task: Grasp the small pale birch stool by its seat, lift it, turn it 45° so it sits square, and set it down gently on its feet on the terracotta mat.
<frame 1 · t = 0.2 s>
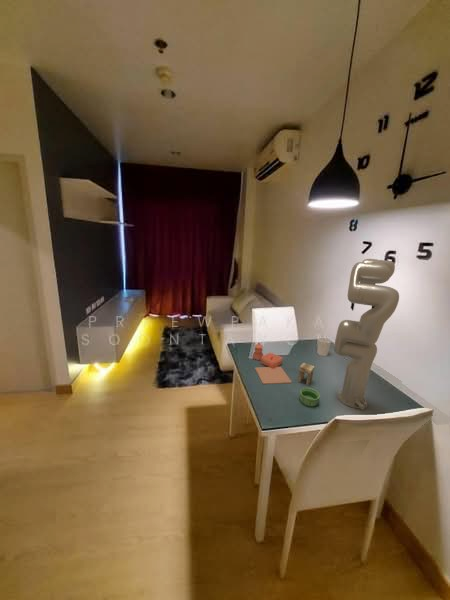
hand: (361, 311, 140), 37 cm above the table, tool pointing down, fingers open, 9 cm apart
stool: (304, 381, 134), on the table
white cup: (322, 354, 169), on the table
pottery: (265, 361, 154), on the table, touching mat
ramekin: (308, 401, 118), on the table
mat: (272, 375, 139), on the table
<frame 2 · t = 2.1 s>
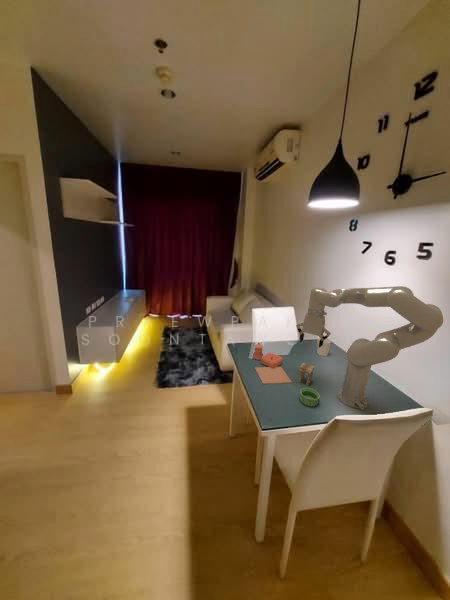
hand: (310, 343, 129), 22 cm above the table, tool pointing down, fingers open, 9 cm apart
nothing on the table moved.
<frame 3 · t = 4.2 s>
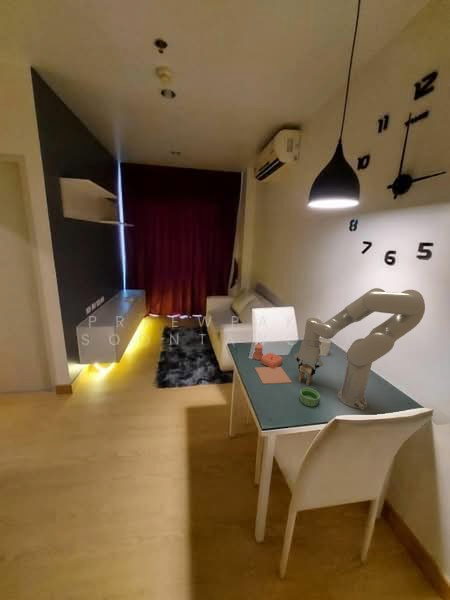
hand: (306, 372, 133), 6 cm above the table, tool pointing down, fingers closed on stool, 6 cm apart
stool: (304, 381, 134), on the table, touching gripper
everything else where it was.
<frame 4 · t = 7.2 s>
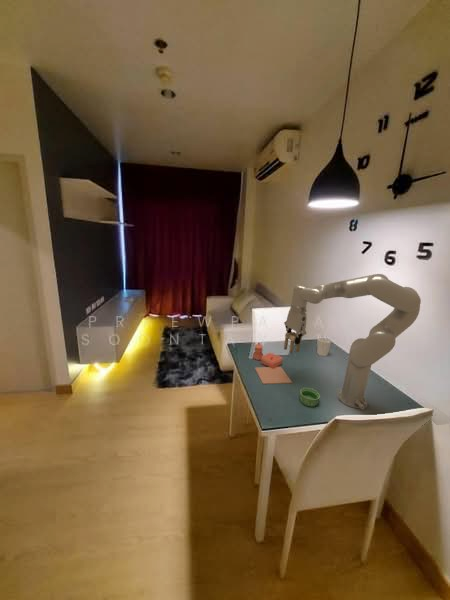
hand: (292, 340, 131), 22 cm above the table, tool pointing down, fingers closed on stool, 6 cm apart
stool: (291, 350, 133), point 17 cm above the table, touching gripper
everything else where it was.
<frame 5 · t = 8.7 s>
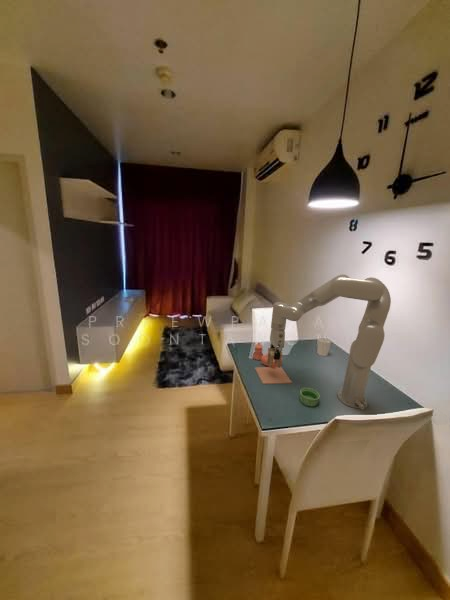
hand: (274, 356, 136), 12 cm above the table, tool pointing down, fingers closed on stool, 6 cm apart
stool: (273, 365, 137), point 6 cm above the table, touching gripper
everything else where it was.
when the fingers open (8 cm above the table, at t = 10.1 s): stool drops 2 cm, resting on mat.
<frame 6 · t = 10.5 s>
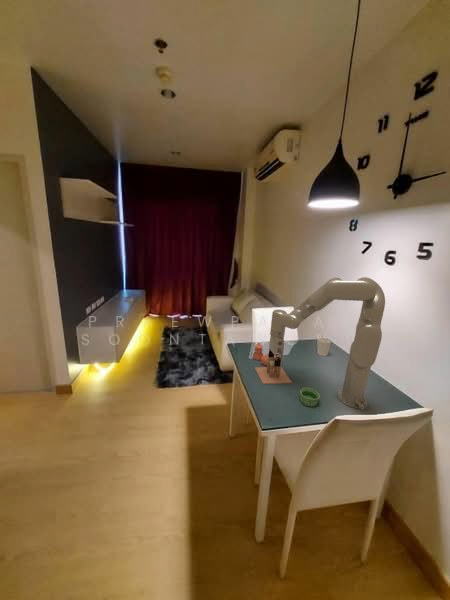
hand: (274, 361, 136), 9 cm above the table, tool pointing down, fingers open, 9 cm apart
stool: (272, 374, 138), point 1 cm above the table, touching mat
everything else where it was.
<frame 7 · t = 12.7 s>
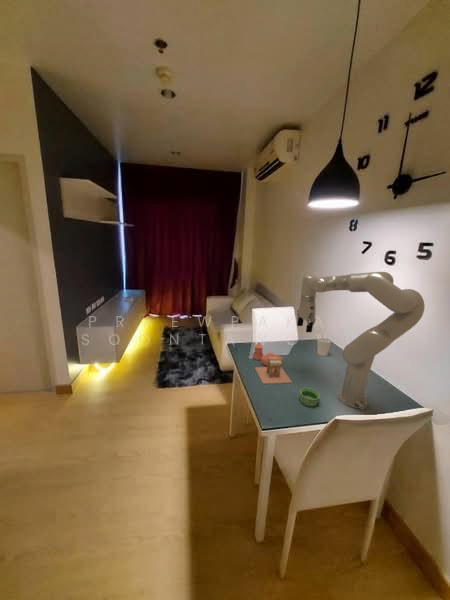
hand: (304, 328, 136), 27 cm above the table, tool pointing down, fingers open, 9 cm apart
nothing on the table moved.
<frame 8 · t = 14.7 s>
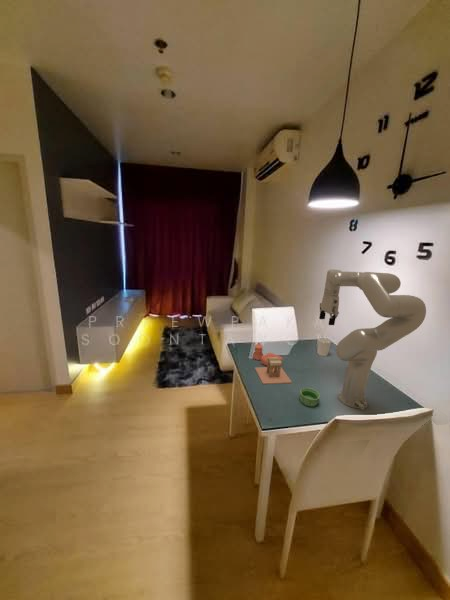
hand: (326, 321, 140), 30 cm above the table, tool pointing down, fingers open, 9 cm apart
nothing on the table moved.
at the end: stool inside the target area on the mat (0.2 cm from its centre), point 0.6 cm above the mat's base; stool tilted 0°; the gripper is holding nothing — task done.
